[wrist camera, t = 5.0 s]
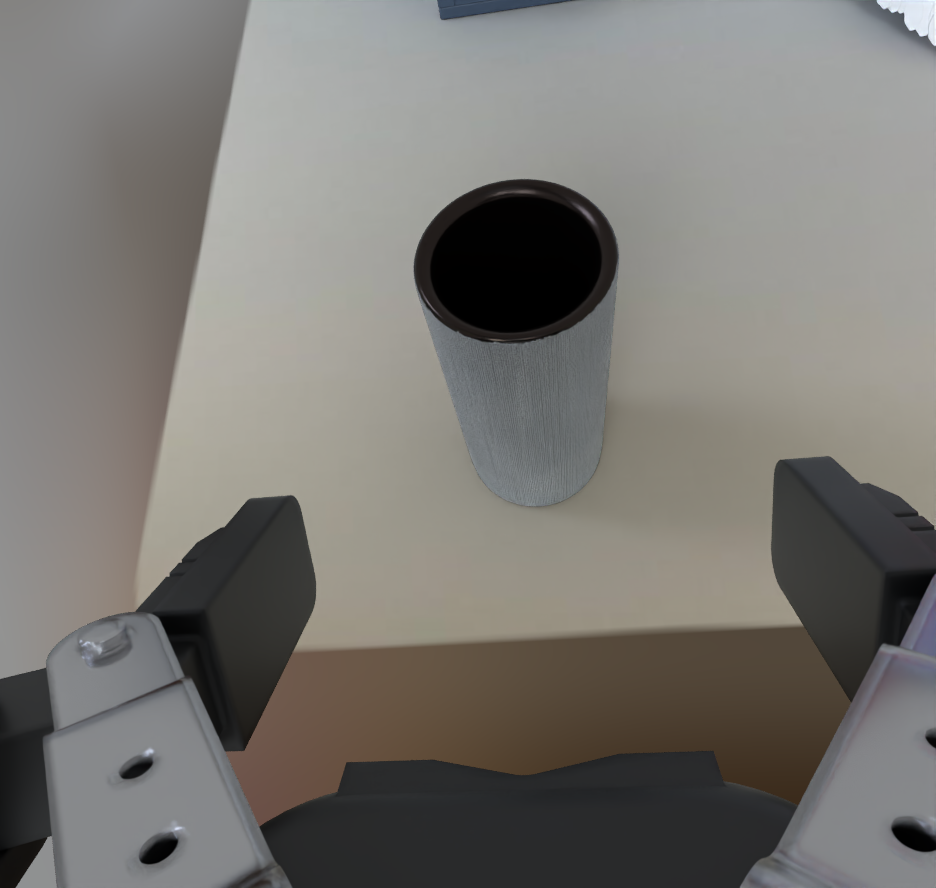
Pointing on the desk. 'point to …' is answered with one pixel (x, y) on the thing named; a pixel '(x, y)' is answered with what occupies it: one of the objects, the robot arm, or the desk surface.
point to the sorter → (483, 6)
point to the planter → (523, 331)
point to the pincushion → (915, 15)
